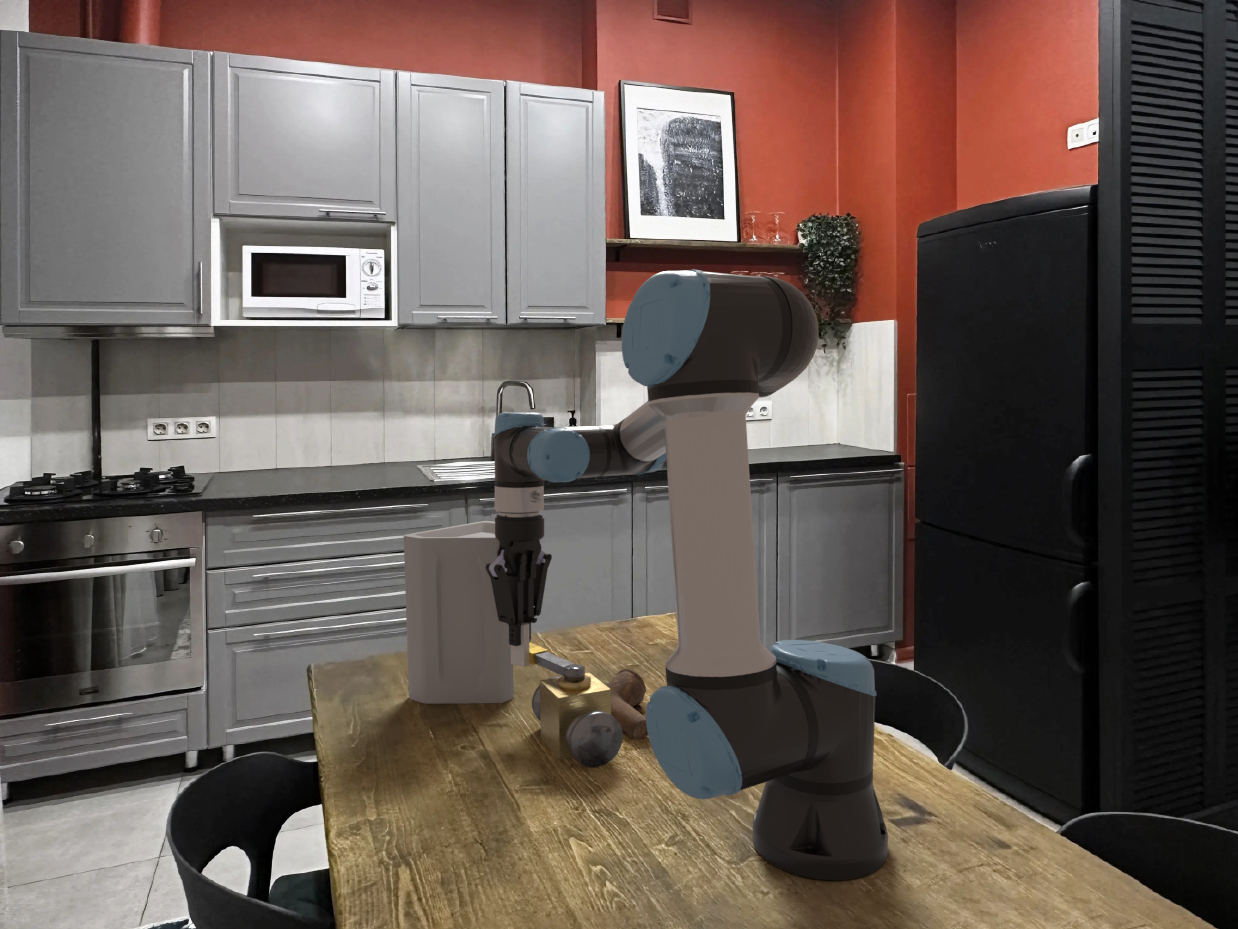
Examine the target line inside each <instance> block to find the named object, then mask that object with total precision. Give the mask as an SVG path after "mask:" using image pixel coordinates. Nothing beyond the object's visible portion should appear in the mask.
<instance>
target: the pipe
mask: <svg viewBox="0 0 1238 929" xmlns="http://www.w3.org/2000/svg"><path fill="white" fill-rule="evenodd" d="M606 686H607V687H608V688H610V689H611V715H612V716H613V717H614V718H615V719H616V720H617V721H618V722H619V723H620V725H621V728H622V732H623V733H625V735H627V736H629V737H630V738H632V739H634V740H636V741H637V740H641V739H642V740H643V739H645V738H647V737H649V736H648V731H647V725H646V716H644V715H643V714H641V712H640V711H638V710H636V709H635V708H634V707H635V706H639V705H640V704H641V703H642V702H643V701H644V697H645V695H646V693H647V689H646V688H647V687H646V684H645V681H644V679H643V677H642V676H641V675H640V674H639V673H637V671H635V670H633V669H630V668H623V669H621V670H619V671H618V672H617V674H616V675H615V676H614V677H613V678H612V679H611V680H610V681H609V682H608V683H607V684H606Z"/></svg>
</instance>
